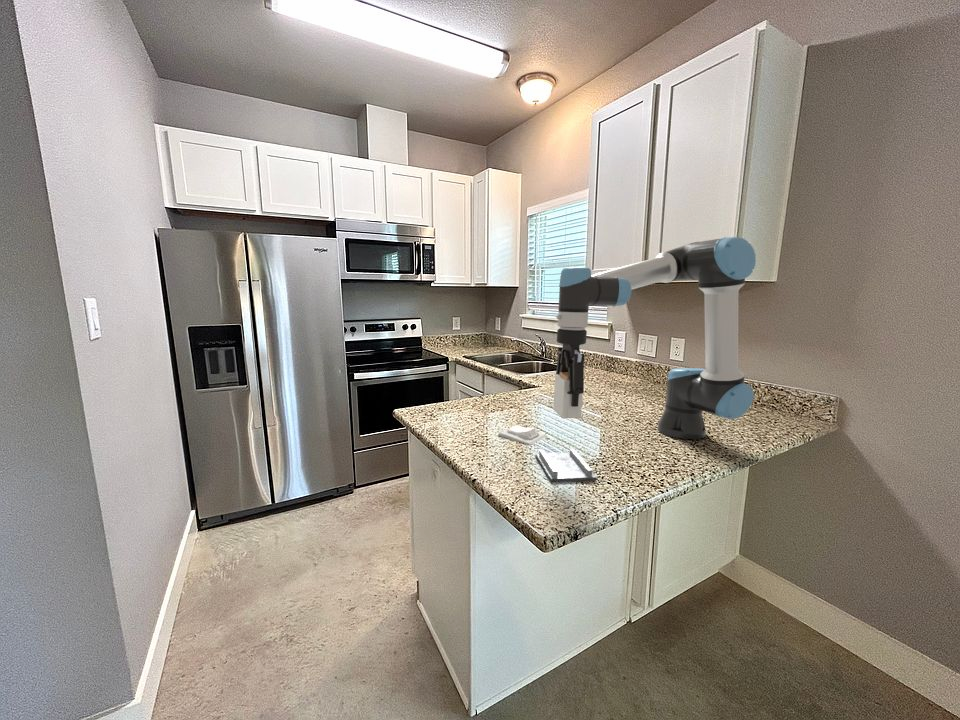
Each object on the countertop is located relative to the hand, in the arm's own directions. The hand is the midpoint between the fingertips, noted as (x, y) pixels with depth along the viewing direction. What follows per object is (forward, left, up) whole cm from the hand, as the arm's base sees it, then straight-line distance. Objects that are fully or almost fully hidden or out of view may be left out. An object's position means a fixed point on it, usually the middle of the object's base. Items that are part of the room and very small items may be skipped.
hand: (566, 412), depth 104 cm
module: (0, 0, 0) cm, 0 cm away
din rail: (0, 0, -16) cm, 16 cm away
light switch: (+6, -25, -17) cm, 31 cm away
